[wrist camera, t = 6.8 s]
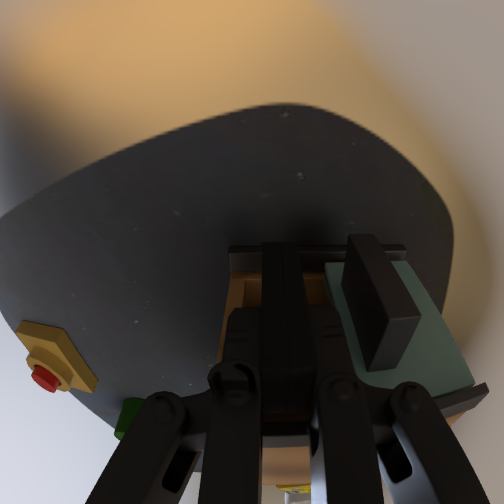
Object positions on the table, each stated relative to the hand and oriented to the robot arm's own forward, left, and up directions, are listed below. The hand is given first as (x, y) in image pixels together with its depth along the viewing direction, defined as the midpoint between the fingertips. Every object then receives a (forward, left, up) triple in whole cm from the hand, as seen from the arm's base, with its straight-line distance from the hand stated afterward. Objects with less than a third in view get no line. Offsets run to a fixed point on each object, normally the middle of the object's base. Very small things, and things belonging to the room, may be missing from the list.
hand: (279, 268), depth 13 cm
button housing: (+17, -26, -5) cm, 32 cm away
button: (+17, -26, -1) cm, 31 cm away
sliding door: (+1, +6, -4) cm, 7 cm away
